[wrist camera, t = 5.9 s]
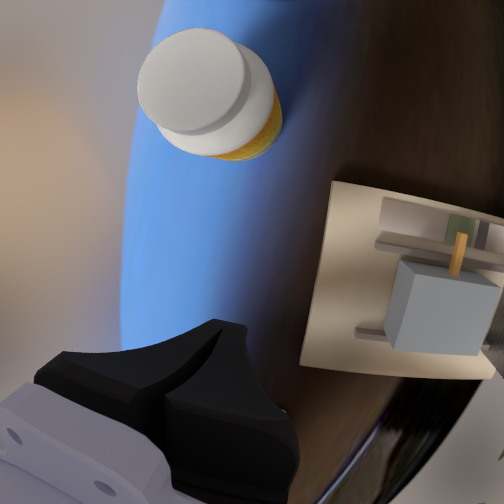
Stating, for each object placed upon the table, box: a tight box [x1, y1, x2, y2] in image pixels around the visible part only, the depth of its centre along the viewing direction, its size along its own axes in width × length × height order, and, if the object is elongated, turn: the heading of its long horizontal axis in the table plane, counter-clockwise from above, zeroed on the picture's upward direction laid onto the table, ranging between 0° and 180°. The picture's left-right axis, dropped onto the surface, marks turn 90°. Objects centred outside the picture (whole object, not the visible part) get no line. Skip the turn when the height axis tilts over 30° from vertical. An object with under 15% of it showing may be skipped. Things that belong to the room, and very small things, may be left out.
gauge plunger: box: [383, 232, 501, 356], centre depth 16 cm, size 7×6×3 cm
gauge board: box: [300, 181, 504, 379], centre depth 18 cm, size 12×16×2 cm
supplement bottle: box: [137, 28, 283, 161], centre depth 14 cm, size 5×5×10 cm
